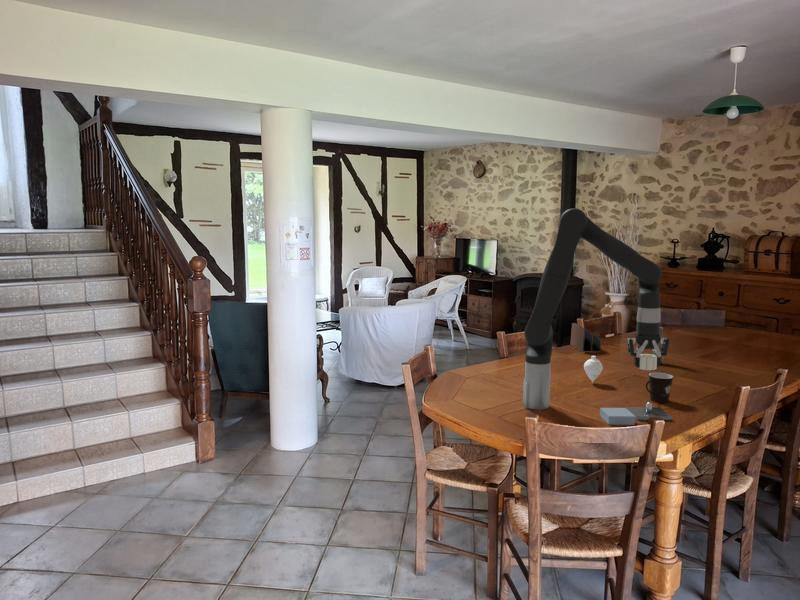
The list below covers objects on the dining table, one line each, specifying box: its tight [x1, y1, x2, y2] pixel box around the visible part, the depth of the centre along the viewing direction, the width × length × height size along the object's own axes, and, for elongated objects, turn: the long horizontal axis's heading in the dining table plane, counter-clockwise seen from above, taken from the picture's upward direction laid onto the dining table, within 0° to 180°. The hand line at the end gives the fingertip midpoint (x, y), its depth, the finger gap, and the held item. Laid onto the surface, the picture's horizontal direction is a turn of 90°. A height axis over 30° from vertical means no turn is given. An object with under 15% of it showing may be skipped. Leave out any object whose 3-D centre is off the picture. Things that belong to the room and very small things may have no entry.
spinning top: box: [583, 355, 604, 384], centre depth 244 cm, size 8×8×12 cm
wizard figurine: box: [651, 326, 666, 365], centre depth 278 cm, size 10×8×25 cm
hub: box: [626, 401, 673, 422], centre depth 203 cm, size 12×10×5 cm
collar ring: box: [638, 353, 658, 371], centre depth 199 cm, size 6×6×4 cm
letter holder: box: [569, 322, 602, 354], centre depth 311 cm, size 10×20×14 cm, turn 2°
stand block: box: [599, 407, 636, 426], centre depth 199 cm, size 9×9×3 cm
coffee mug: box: [645, 372, 674, 404], centre depth 220 cm, size 12×9×10 cm
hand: (647, 367), depth 199 cm, fingers closed on collar ring, 6 cm apart
